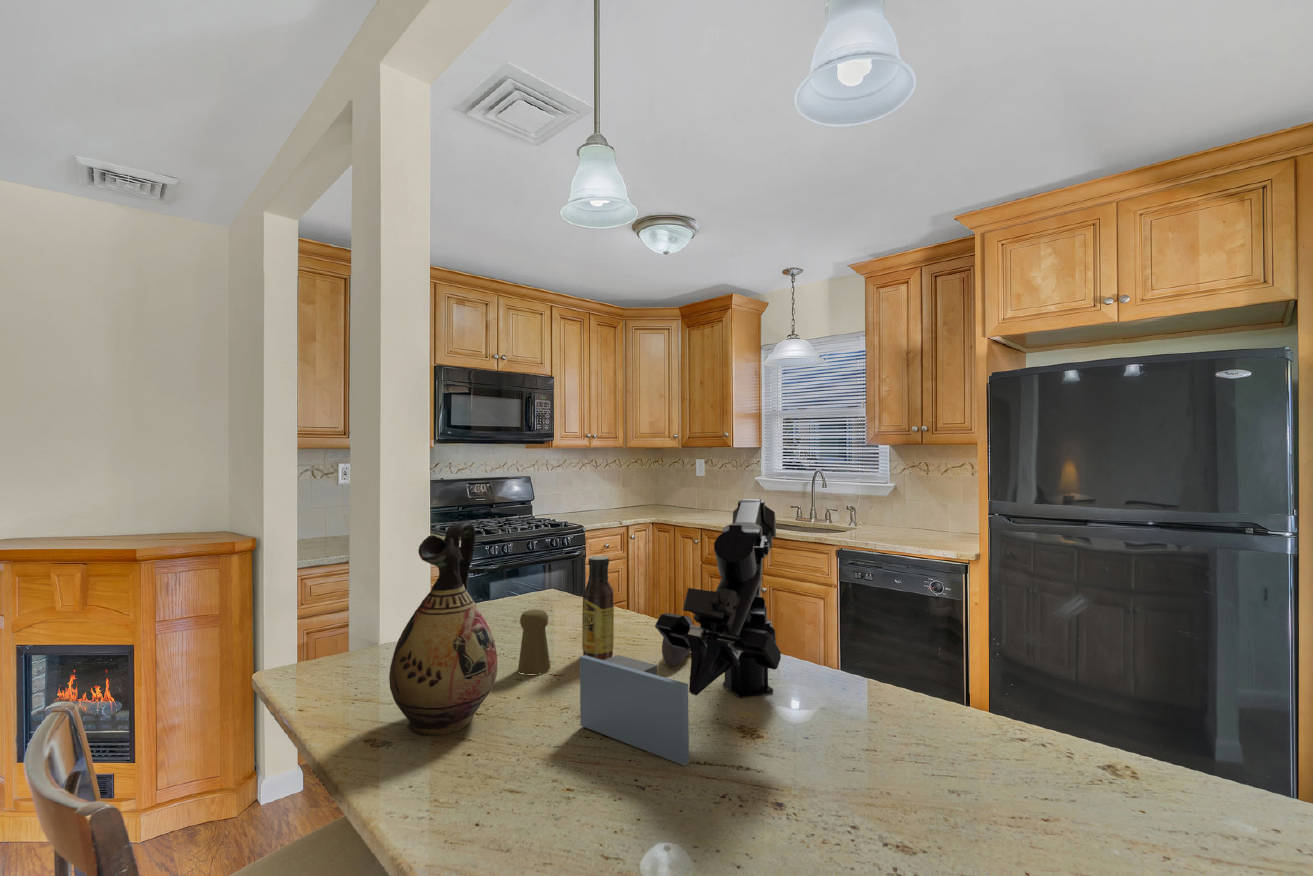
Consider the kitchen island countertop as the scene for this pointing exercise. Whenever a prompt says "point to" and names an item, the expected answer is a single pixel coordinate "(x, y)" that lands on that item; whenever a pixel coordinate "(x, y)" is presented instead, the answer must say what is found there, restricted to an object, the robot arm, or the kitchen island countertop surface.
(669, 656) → the perforated stone tool
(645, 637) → the kitchen island countertop surface
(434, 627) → the ceramic jug
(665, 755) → the side door
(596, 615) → the sauce bottle
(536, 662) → the cork
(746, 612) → the robot arm
